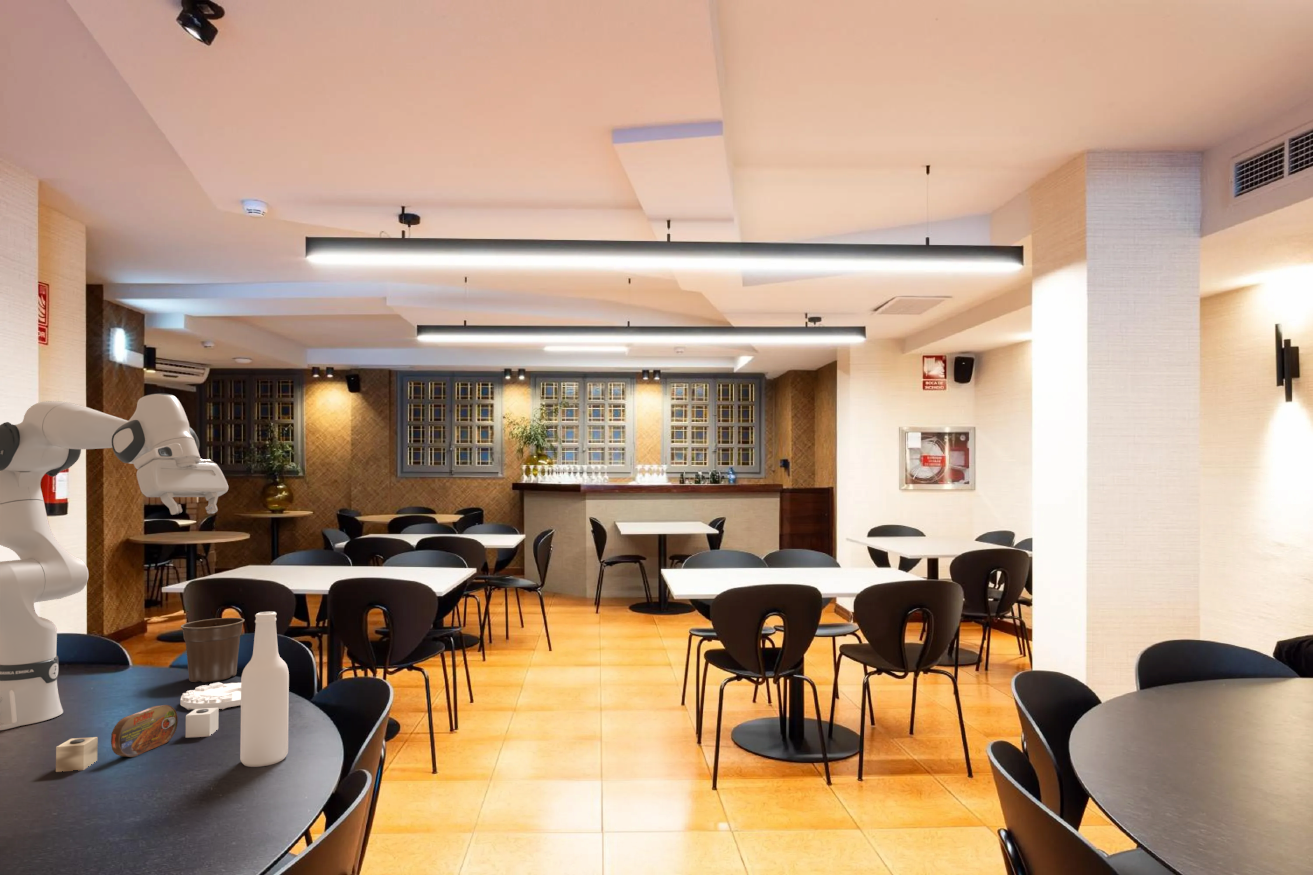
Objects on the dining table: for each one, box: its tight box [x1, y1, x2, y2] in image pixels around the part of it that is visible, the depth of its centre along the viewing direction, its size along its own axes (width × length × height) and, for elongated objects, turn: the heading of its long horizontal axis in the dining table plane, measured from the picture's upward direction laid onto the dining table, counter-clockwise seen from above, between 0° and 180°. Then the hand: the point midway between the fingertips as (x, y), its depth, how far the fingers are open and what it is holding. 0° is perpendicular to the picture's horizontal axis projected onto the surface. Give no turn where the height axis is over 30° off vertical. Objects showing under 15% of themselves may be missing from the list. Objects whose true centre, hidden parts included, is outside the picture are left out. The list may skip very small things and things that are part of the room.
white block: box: [185, 708, 220, 739], centre depth 177 cm, size 5×5×5 cm
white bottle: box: [239, 611, 290, 768], centre depth 160 cm, size 9×9×30 cm
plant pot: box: [180, 617, 245, 683], centre depth 227 cm, size 16×16×16 cm
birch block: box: [55, 736, 99, 773], centre depth 157 cm, size 5×5×5 cm
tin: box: [110, 704, 179, 758], centre depth 166 cm, size 15×3×8 cm, turn 168°
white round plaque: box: [180, 681, 241, 711], centre depth 203 cm, size 20×20×3 cm
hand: (195, 512), depth 173 cm, fingers open, 8 cm apart
